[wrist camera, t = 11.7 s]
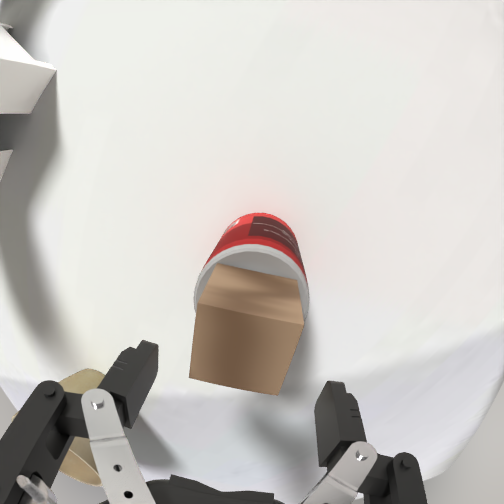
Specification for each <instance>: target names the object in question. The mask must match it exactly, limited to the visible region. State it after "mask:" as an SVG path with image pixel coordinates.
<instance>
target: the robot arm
mask: <svg viewBox="0 0 504 504" xmlns="http://www.w3.org/2000/svg"><path fill="white" fill-rule="evenodd" d="M157 372H158V344H155V343H151V342H148V341H145V340H142V341H141V342H140V344H139V345H138V347H137V349H135V348H132V347H129V348H127V349H126V350H124V351H122V352H121V354H120V355H119V356H118V358H117V360H116V361H115V362H114V364H113V366H112V367H111V368H110V369H109V371H108V372H107V374H106V375H105V377H104V378H103V380H102V381H101V383H100V384H99V386H98V387H97V388H96V389H91V390H88V391H86V392H85V393H84V394H78V393H72V392H66V391H64V389H63V387H62V386H61V385H60V384H59V383H58V382H55V381H51V380H48V381H44V382H41V383H40V384H39V385H38V386H37V387H36V388H35V390H34V391H33V393H32V394H31V395H30V397H29V398H28V400H27V401H26V402H25V404H24V405H23V407H22V408H21V410H20V411H19V412H18V414H17V415H16V417H15V418H14V420H13V421H12V423H11V424H10V426H9V427H8V429H7V430H6V432H5V434H4V435H3V437H2V438H1V440H0V504H57V499H56V496H55V494H54V493H53V492H52V490H51V489H50V488H51V486H52V484H53V481H54V479H55V477H56V475H57V473H58V471H59V469H60V466H61V464H62V462H63V460H64V458H65V456H66V454H67V452H68V450H69V448H70V446H71V444H72V442H73V440H74V438H75V436H76V437H81V438H88V439H90V446H91V450H92V453H93V457H94V460H95V463H96V467H97V470H98V473H99V476H100V479H101V482H102V485H103V487H104V490H105V493H106V495H107V498H108V500H106V501H104V502H102V503H99V504H284V503H282V502H280V501H278V500H275V499H274V493H265V492H256V491H235V492H221V491H218V490H216V489H213V488H211V487H209V486H206V485H204V484H202V483H200V482H198V481H195V480H191V479H187V478H183V477H179V476H175V475H172V474H171V477H170V480H167V479H160V480H152V481H148V482H145V480H144V478H143V476H142V474H141V471H140V469H139V467H138V464H137V462H136V459H135V457H134V455H133V452H132V450H131V447H130V444H129V442H128V439H127V437H126V436H125V434H124V431H123V428H124V426H125V427H128V428H130V429H131V428H132V426H133V424H134V422H135V420H136V417H137V415H138V413H139V411H140V409H141V407H142V405H143V403H144V401H145V399H146V397H147V395H148V393H149V391H150V389H151V387H152V385H153V383H154V381H155V378H156V376H157ZM314 414H315V424H316V435H317V447H318V459H319V467H327V473H326V474H325V475H324V476H323V477H322V479H321V480H320V481H319V482H318V483H317V484H316V486H315V487H314V488H313V489H312V490H311V491H310V492H309V493H308V494H307V496H306V497H305V498H304V499H303V500H302V501H301V502H300V503H299V504H351V503H352V502H353V500H354V499H355V497H356V496H357V494H358V492H359V493H363V494H364V504H427V499H426V494H425V490H424V485H423V481H422V476H421V472H420V468H419V464H418V461H417V459H416V458H415V457H414V456H413V455H411V454H409V453H406V452H403V453H399V454H397V455H396V456H395V457H394V458H393V457H388V456H384V455H380V454H378V453H377V452H376V450H375V448H374V447H373V446H372V445H371V444H369V443H367V440H366V436H365V432H364V427H363V423H362V419H361V415H360V411H359V407H358V403H357V400H356V399H355V398H354V396H353V395H352V394H351V393H346V389H345V385H344V383H343V382H336V381H327V382H326V384H325V386H324V388H323V390H322V392H321V394H320V396H319V398H318V399H317V401H316V404H315V410H314Z"/></svg>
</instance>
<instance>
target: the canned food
mask: <svg viewBox="0 0 504 504" xmlns="http://www.w3.org/2000/svg"><path fill="white" fill-rule="evenodd" d="M217 263H220V264H224V265H229V266H234V267H238V268H243V269H247V270H252V271H257V272H262V273H266V274H271V275H276V276H281V277H285V278H290V279H295V280H297V282H298V288H299V294H300V300H301V307H302V313H303V320H304V321H305V319H306V316H307V313H308V307H309V290H308V284H307V278H306V274H305V270H304V266H303V262H302V259H301V255H300V251H299V247H298V243H297V240H296V238H295V235H294V233H293V232H292V230H291V228H290V227H289V226H288V225H287V224H286V223H285V222H284V221H282V220H281V219H279V218H278V217H275V216H273V215H271V214H266V213H252V214H247V215H245V216H242V217H240V218H238V219H237V220H236V221H234V222H233V223H232V224H231V225H230V226H229V227H228V228H227V229H226V231H225V233H224V234H223V236H222V237H221V239H220V241H219V242H218V244H217V246H216V247H215V249H214V250H213V252H212V254H211V255H210V257H209V259H208V260H207V262H206V264H205V265H204V267H203V269H202V271H201V273H200V275H199V277H198V280H197V283H196V287H195V291H194V309H195V312H196V311H197V303H198V301H199V299H200V297H201V295H202V292H203V290H204V288H205V286H206V284H207V282H208V280H209V278H210V276H211V274H212V272H213V270H214V268H215V266H216V264H217Z"/></svg>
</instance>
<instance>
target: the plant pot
mask: <svg viewBox="0 0 504 504" xmlns="http://www.w3.org/2000/svg"><path fill="white" fill-rule="evenodd" d="M104 377H105V375H104V374H102V373H100V372H98V371H96V370H93V369H84V370H82V371H79V372H77V373H75V374H73V375H71V376H69V377H67V378H65V379H63V380H62V381H60V382H58V383H59V384H60V385H61V386H62V387H63V389H64V391H66V392H72V393H78V394H84V393H85V392H86V391H88V390H91V389H96V388H97V387H98V386H99V384H100V383H101V381H102V380H103V378H104ZM19 411H20V410H19ZM19 411H18V412H19ZM18 412H17V413H16V414H15V415H14V416H13V417H12V421H13V420H14V418H15V417H16V415H17V414H18ZM59 471H60V472H62V473H64V474H66V475H67V476H69V477H71V478H73V479H75V480H77V481H80V482H82V483H85V484H88V485H91V486H98V487H100V486H103V485H102V482H101V479H100V476H99V473H98V470H97V467H96V463H95V460H94V457H93V453H92V450H91V446H90V439H88V438H81V437H76V436H75V438H74V440H73V442H72V444H71V446H70V448H69V450H68V452H67V454H66V456H65V458H64V460H63V462H62V464H61V466H60V469H59Z"/></svg>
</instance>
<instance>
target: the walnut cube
mask: <svg viewBox="0 0 504 504" xmlns="http://www.w3.org/2000/svg"><path fill="white" fill-rule="evenodd" d="M303 327H304V320H303V313H302V307H301V300H300V294H299V288H298V282H297V280H295V279H290V278H285V277H281V276H276V275H271V274H266V273H262V272H257V271H252V270H247V269H243V268H238V267H234V266H229V265H224V264H220V263H217V264H216V266H215V268H214V270H213V272H212V274H211V276H210V278H209V280H208V282H207V284H206V286H205V288H204V290H203V292H202V295H201V297H200V299H199V301H198V303H197V311H196V319H195V327H194V335H193V344H192V353H191V363H190V373H189V378H192V379H196V380H200V381H204V382H209V383H213V384H218V385H222V386H227V387H232V388H237V389H242V390H247V391H252V392H258V393H264V394H270V395H277V396H278V394H279V391H280V389H281V386H282V384H283V381H284V379H285V376H286V373H287V371H288V368H289V366H290V363H291V360H292V358H293V355H294V352H295V349H296V347H297V344H298V341H299V338H300V336H301V333H302V330H303Z"/></svg>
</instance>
